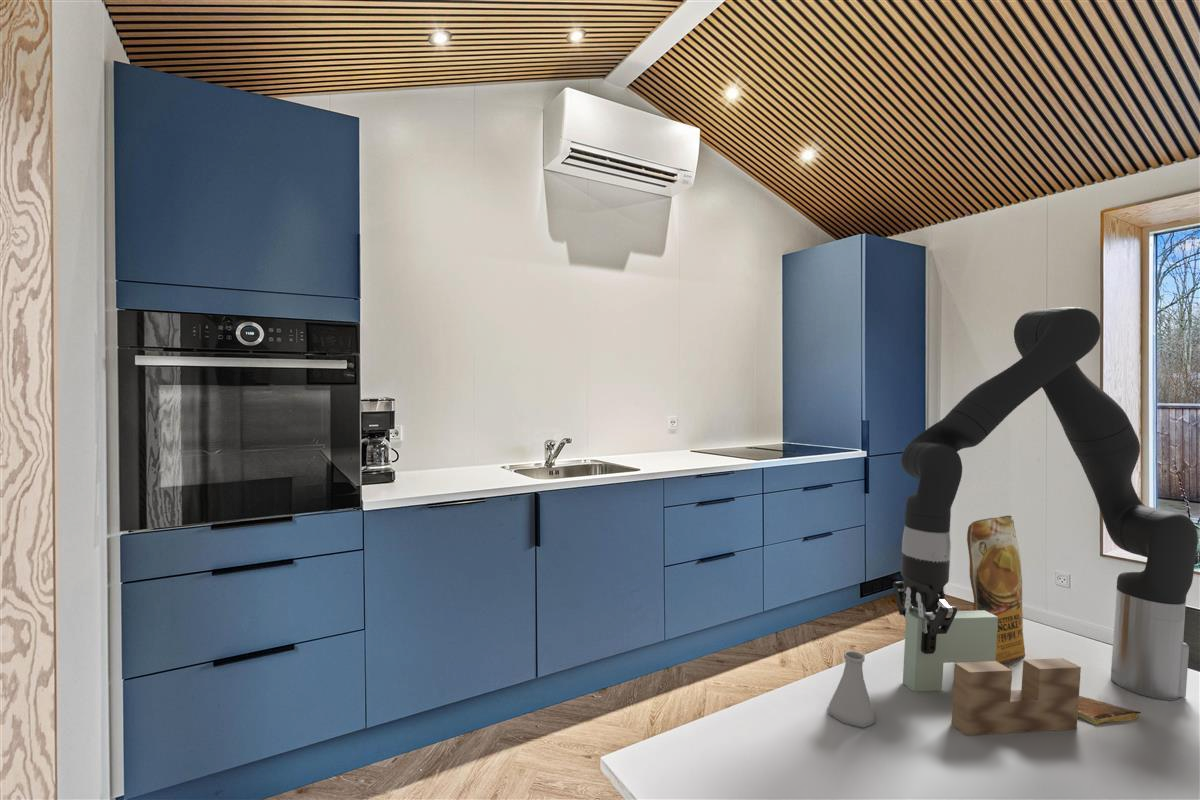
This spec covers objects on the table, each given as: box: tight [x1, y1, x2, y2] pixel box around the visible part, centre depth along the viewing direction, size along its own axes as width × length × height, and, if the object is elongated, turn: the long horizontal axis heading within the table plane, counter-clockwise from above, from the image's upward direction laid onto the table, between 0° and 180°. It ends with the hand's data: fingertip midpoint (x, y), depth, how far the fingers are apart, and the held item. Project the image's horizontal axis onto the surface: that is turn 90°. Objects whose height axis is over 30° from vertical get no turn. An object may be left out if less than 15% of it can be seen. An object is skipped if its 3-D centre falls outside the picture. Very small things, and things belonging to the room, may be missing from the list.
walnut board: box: [950, 657, 1082, 737], centre depth 92 cm, size 20×3×10 cm, turn 99°
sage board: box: [902, 610, 998, 693], centre depth 104 cm, size 16×3×13 cm, turn 99°
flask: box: [827, 649, 875, 729], centre depth 93 cm, size 7×7×10 cm
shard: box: [1078, 695, 1143, 725], centre depth 96 cm, size 11×8×2 cm
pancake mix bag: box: [966, 515, 1026, 664], centre depth 117 cm, size 7×19×28 cm, turn 115°
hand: (920, 647), depth 103 cm, fingers closed on sage board, 3 cm apart
